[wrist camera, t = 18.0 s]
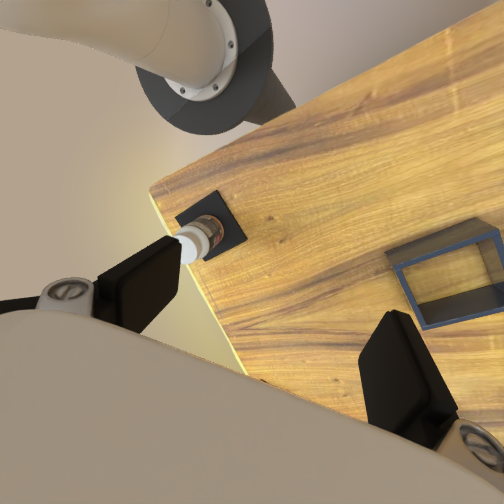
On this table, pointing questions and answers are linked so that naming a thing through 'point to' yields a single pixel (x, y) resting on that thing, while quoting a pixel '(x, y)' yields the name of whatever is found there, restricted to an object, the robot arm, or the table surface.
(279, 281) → the table surface
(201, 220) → the pill bottle
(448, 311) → the caddy
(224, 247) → the mat
